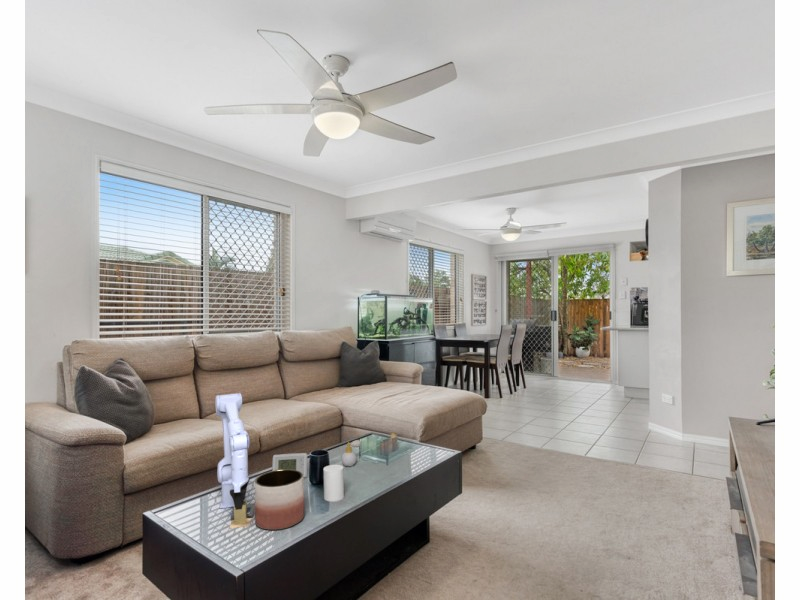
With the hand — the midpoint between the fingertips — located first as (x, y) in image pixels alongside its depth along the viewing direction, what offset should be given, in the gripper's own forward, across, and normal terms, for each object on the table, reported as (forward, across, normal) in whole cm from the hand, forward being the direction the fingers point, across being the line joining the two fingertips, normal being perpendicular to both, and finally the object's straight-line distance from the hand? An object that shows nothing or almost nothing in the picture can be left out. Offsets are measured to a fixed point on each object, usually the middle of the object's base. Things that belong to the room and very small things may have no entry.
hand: (240, 504), depth 162 cm
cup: (+7, -13, +35) cm, 38 cm away
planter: (+7, +1, +14) cm, 16 cm away
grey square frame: (+7, -8, 0) cm, 11 cm away
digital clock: (+8, -41, +17) cm, 45 cm away
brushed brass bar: (+6, 0, 0) cm, 7 cm away
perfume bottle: (+8, -49, +46) cm, 68 cm away
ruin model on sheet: (+8, -62, +68) cm, 93 cm away
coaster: (+7, 0, 0) cm, 7 cm away
